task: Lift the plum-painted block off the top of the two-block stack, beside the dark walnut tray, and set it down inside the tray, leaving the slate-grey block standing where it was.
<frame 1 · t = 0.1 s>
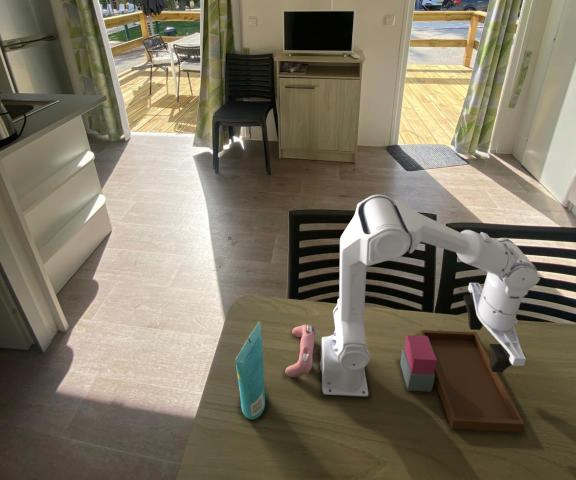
hand: (484, 347, 61), 10 cm above the table, tool pointing down, fingers open, 7 cm apart
plum block: (418, 361, 63), point 5 cm above the table, touching grey block
tube: (252, 404, 60), on the table
grey block: (415, 376, 65), on the table, touching plum block
video game controller: (301, 356, 68), on the table
tray: (463, 378, 64), on the table
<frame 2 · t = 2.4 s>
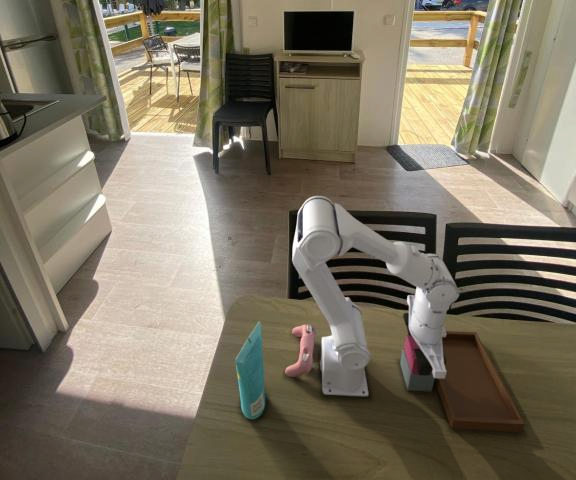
hand: (418, 359, 63), 6 cm above the table, tool pointing down, fingers closed on plum block, 4 cm apart
plum block: (418, 361, 63), point 5 cm above the table, touching grey block, gripper
everything else where it was.
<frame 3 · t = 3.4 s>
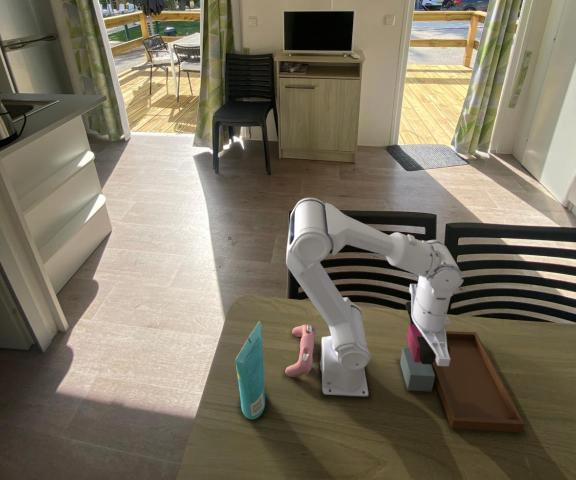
hand: (421, 348, 62), 9 cm above the table, tool pointing down, fingers closed on plum block, 4 cm apart
plum block: (420, 350, 62), point 8 cm above the table, touching gripper
grey block: (415, 376, 65), on the table
everything else where it was.
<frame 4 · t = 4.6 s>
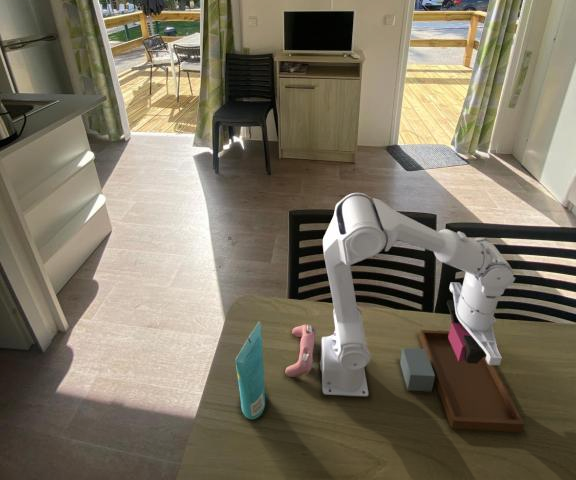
hand: (464, 347, 61), 10 cm above the table, tool pointing down, fingers closed on plum block, 4 cm apart
plum block: (464, 349, 61), point 9 cm above the table, touching gripper
everything else where it was.
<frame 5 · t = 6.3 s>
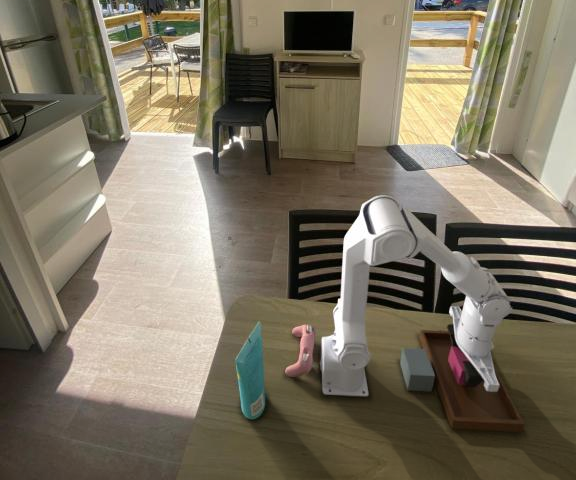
hand: (464, 370, 63), 3 cm above the table, tool pointing down, fingers closed on plum block, 4 cm apart
plum block: (463, 372, 64), point 2 cm above the table, touching gripper
everything else where it was.
when the fingers open (1 cm above the table, at t = 7.2 s): plum block stays where it is, resting on tray.
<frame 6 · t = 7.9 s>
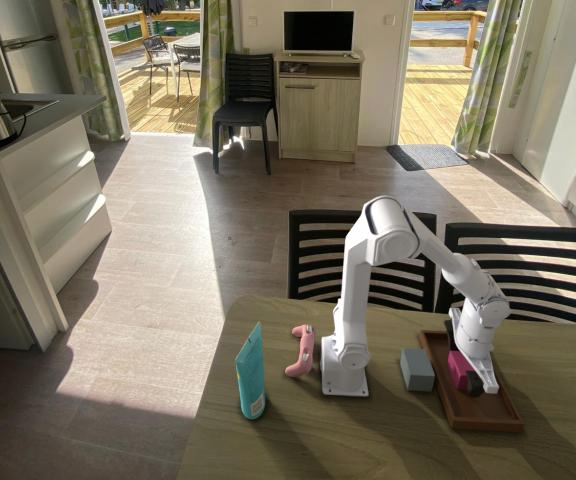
hand: (463, 372, 64), 2 cm above the table, tool pointing down, fingers open, 7 cm apart
plum block: (462, 376, 64), point 1 cm above the table, touching tray
everything else where it was.
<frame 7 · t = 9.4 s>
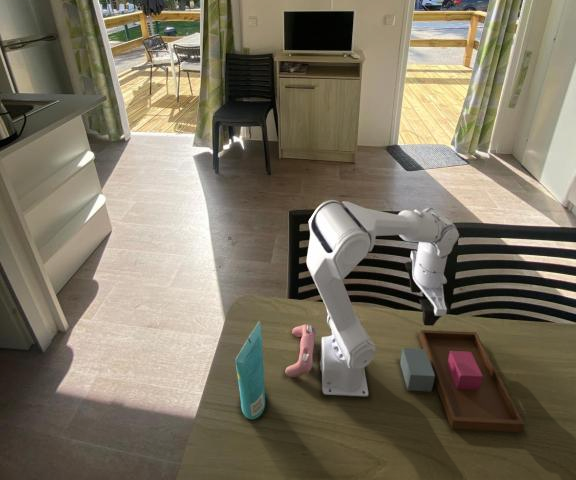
hand: (421, 306, 69), 10 cm above the table, tool pointing down, fingers open, 7 cm apart
nothing on the table moved.
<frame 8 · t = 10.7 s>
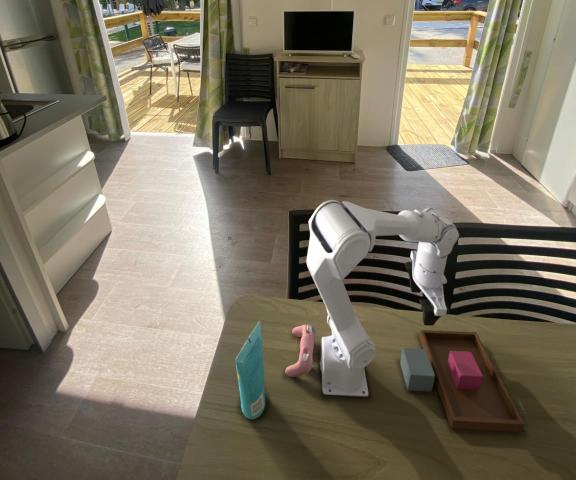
hand: (421, 306, 69), 10 cm above the table, tool pointing down, fingers open, 7 cm apart
nothing on the table moved.
at the end: plum block inside the target area in the tray (0.5 cm from its centre), point 0.6 cm above the tray's base; grey block moved 0.0 cm from its start; the gripper is holding nothing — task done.
